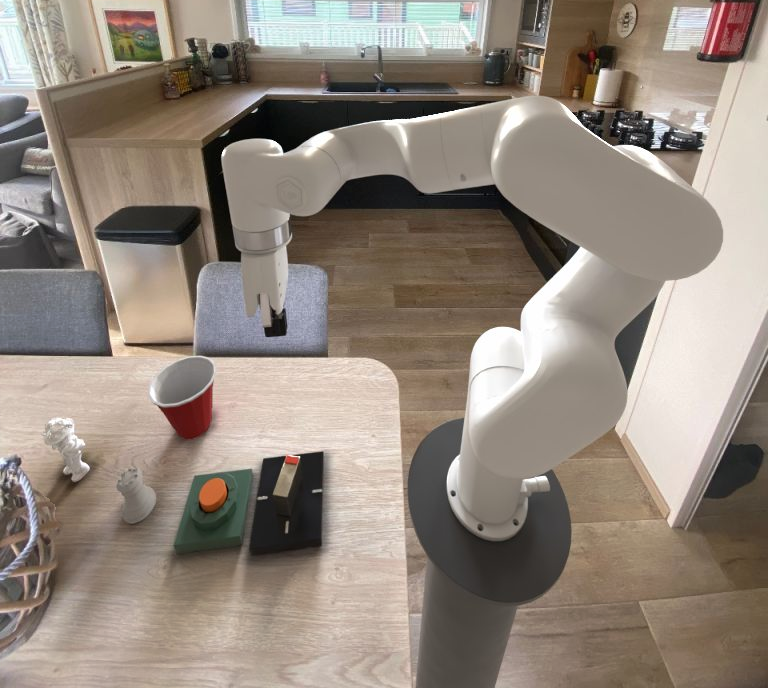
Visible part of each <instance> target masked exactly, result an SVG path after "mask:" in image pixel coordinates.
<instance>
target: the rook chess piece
mask: <svg viewBox="0 0 768 688" xmlns="http://www.w3.org/2000/svg"><path fill="white" fill-rule="evenodd" d="M120 475H121V476H119V477H118V478H117V481H116V485H115V486H116V491H118V492H119V493H120V494H121V496H122V497H124V501H123V505H122V509H121V512H122V516H123V517H122V518H123V520H124V521H125V522H126V523H127V524H136V523H139V522H141V521H143V520H144V519H146V518H147V517H148V516H149V515H150V514H151V512H152V511H153V510H154V508H155V505H156V503H157V495H156V492H155V491H154V489H153V488H152V487H151V486H147V485H145V484H144V483H143V482H144V479H143V471H142V469H141V468H140V467H136V466H134V467H133V466H128V467H127V470H126V471H125V470H123V471H122V472H121V473H120Z"/></svg>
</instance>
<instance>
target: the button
mask: <svg viewBox="0 0 768 688" xmlns="http://www.w3.org/2000/svg"><path fill="white" fill-rule="evenodd" d="M226 497H227V490H226V486H225V483H224V481H223V480H222V479H219V478H215V479H212V480H210V481H208V482H207V483H206V484H205V485H204V486H203V487H202V489H201V491H200V494H199V500H200V504H201V507H202V509H203V510H204V511H205V512H209V513H210V512H214V511H216V510H218V509H219V508H220V507H221V506H222V505H223V504H224V502H225V500H226Z"/></svg>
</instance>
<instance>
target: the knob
mask: <svg viewBox="0 0 768 688" xmlns="http://www.w3.org/2000/svg"><path fill="white" fill-rule="evenodd" d="M291 455H292V454H286V455H285V456H286V458H285V461H284V464H283V467H282V470H281V473H280V475H279V478H278V481H277V484H276V487H275V489H274V492H273V498H274V504H275V510H276V514H277V515H283V516H288V517H290V516H291V513H292V510H293V506H294V503H295V500H296V496H297V493H298V490H299V487H300V483H301V480H302V469H301V461H300V457H297V456H291Z"/></svg>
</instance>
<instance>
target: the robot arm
mask: <svg viewBox="0 0 768 688" xmlns="http://www.w3.org/2000/svg"><path fill="white" fill-rule="evenodd" d="M220 158H221V160H220V161H221V168H222V174H223V179H224V185H225V190H226V197H227V203H228V209H229V214H230V215H229V216H230V221H231V226H232V232H233V238H234V239H233V240H234V245H235V248H236V249H237V250H238V251H239V252H241V253H240V270H241V284H242V294H243V302H244V311H245V316H246V317H248V318H254V317H255V316H256V314H257V310H258V307H259V309H260V316H261V317H260V319H261V327H262V328H263V332H264V336H265V338H277V337H278V338H279V337H286V336H287V335H288V334H287V333H288V327H289V326H288V319H287V318H288V317H287V309H286V308H285V298H286V292H287V286H288V280H289V261H288V251H287V246H288V245H289V243H291V240H292V239H293V231H292V222H291V216H296V217H309V216H313V215H316V214H317V213H319V212H320V211H322V210H323V209H324V208H325V207H326V205H328V203H329V202H330V201H331V200H332V199H333V197H334V196H335V195H336V193H337V192H338V191H339V190H340V189H341V188H342V186H343V185H344V184H345V183H346V182H348V181H351V180H354V179H360V178H365V177H373V176H380V175H392V176H393V175H394V176H398V177H402V178H404V179H405V180H407V181H408V182H409V183H411V185H412V186H413V187H414V188H416V190H418V191H419V192H421V193H423V194H437V193H443V192H449V191H451V192H452V191H456V190H463V189H470V188H478V187H483V186H484V187H485V186H491V185H492V186H493V185H495V187H496V188H497V190H498V191H499V192H500V193H501V195H502V196H503V197H504V198H505V199H506V200H507V201H508V202H509V203H511V204H512V205H513V206H514V207H515V208H517V209H518V210H519V211H521V212H522V213H524V214H526V215H527V217H529V218H531V219H533V220H534V221H536V222H538V223H539V224H541V225H543V226H544V227H546V228H547V229H549V230H551V231H552V232H554V233H556V234H558V235H559V236H561V237H563V238H565V239H566V240H568V241H569V242H570V243H573V244H574V245H576V246H578V247H579V248H578V250H577V251H576V252H575V253H574V254H573V256H572V257H571V258H570V259H569V260H568V261H567V262H566V263H565V264H564V265H563V267H561V268H560V270H558V271H557V272H556V273H555V274H554V275H553V277H551V278H550V279H549V280H548V281H547V282H546V283H545V284H544V285H543V286H542V287H540V289H539V290H538V291H537V292H536V293H535V294H534V295H533V296H532V297H531V298H530V299H529V300H528V302H527V303H526V304H525V305H524V307H523V309H522V311H521V313H520V314H521V315H520V330H518V329H516V328H513V327H510V326H497V327H494V328H490V329H489V330H487V331H485V332H484V333H482V334H481V335H480V336H479V338H478V339H477V340H476V341H475V343H474V345H473V347H472V350H471V355H470V360H469V374H468V384H467V396H466V405H465V413H464V418H465V419H464V427H463V435H462V442H461V450H460V455H459V456H457V457H456V458H455V460H454V461H453V462H452V464H451V466H450V468H449V472H448V476H447V494H448V500H449V502H450V505H451V508H452V510H453V512H454V514H455V515H456V517H457V518H458V520H459V521H460V522H461V524H462V525H463V526H464V527H465V528H467V529H468V530H469V531H470V532H472V533H473V534H474V535H476V536H478V537H480V538H483V539H485V540H490V541H504V540H507V539H510V538H511V537H513V536H515V535H516V534H517V533H518V532H519V531H520V530H521V528H522V526H523V524H524V522H525V519H526V516H527V510H528V498H527V497H530V496H531V494H532V493H535V492H538V493H539V492H547V491H550V485H549V482H548V479H547V478H546V476H541V477H536V476H539V475H541V474H544V473H545V472H547V471H549V470H551V469H552V470H553V469H554V468H556V467H557V466H559V465H560V464H562V463H564V462H565V461H567V460H568V459H570V458H571V457H573V456H574V455H576V454H578V453H579V452H581V451H582V450H583V449H586V447H588V446H589V445H591V444H592V443H594V442H595V441H597V440H599V439H600V438H601V437H603V436H604V435H606V434H607V433H608V432H610V431H611V430H612V429H613V428H614V427H616V425H618V423H619V421H620V420H621V418H622V416H623V414H624V412H625V410H626V407H627V403H628V396H629V395H628V393H629V392H628V385H627V380H626V376H625V374H624V370H623V367H622V364H621V362H620V359H619V357H618V354H617V351H616V347H615V346H616V345H615V341H616V338H617V337H618V335H619V334H620V333H621V332H622V331H623V330H624V329H625V328H626V327H627V326H628V325H629V324H630V323H631V322H632V321H633V320H634V319H635V318H636V317H637V316H638V315H639V314H641V313H642V312H643V311H644V310H645V309H646V308H647V307H648V306H649V305H650V304H652V302H653V301H654V300H655V299H656V297H657V296H658V294H659V293H660V292H661V290H662V288H663V287H664V286H665V284H666V282H668V281H678V280H683V279H688V278H690V277H692V276H696V275H697V274H699V273H701V272H702V271H703V270H704V271H705V269H707V268H708V267H709V266H710V265H711V264H712V263H713V262H714V261H715V260H716V258H717V256H718V255H719V253H720V252H721V249H722V246H723V243H724V228H723V224H722V223H723V222H722V220H721V217H720V216H719V214H718V212H717V210H716V209H715V208H714V207H713V205H712V203H710V201H708V200H707V199H706V198H705V197H704V196H703V194H701V193H700V192H699V191H697V190H696V189H695V188H694V187H693V186H692V185H690V184H689V183H688V182H687V181H686V180H685V179H684V178H683V177H681V176H680V175H679V174H678V173H677V172H676V171H675V170H674V169H673V168H672V167H670V165H668V164H667V163H666V162H664V161H663V160H662V159H661V158H659V156H657V155H655V154H653V153H652V152H650V151H649V150H646V149H644V148H642V147H639V146H635V145H629V144H619V145H613V146H612V145H611V144H609V143H608V142H607V141H604V140H603V139H602V138H600V137H599V136H598V135H596V134H594V133H593V132H592V131H590V130H589V129H588V128H586V127H585V126H584V125H583V124H582V123H581V122H580V120H578V118H577V117H576V115H574V114H573V113H572V111H571V110H570V109H569V108H568V107H567V106H566V105H564V104H563V103H562V102H560V101H559V100H557V99H555V98H553V97H550V96H547V95H546V96H545V95H526V96H521V97H516V98H510V99H506V100H500V101H495V102H491V103H485V104H481V105H477V106H471V107H467V108H462V109H457V110H454V111H448V112H443V113H438V114H433V115H428V116H421V117H416V118H410V119H409V118H407V119H405V118H404V119H403V118H401V119H392V120H391V119H390V120H376V121H369V122H363V123H358V124H352V125H348V126H343V127H338V128H334V129H330V130H327V131H323V132H320V133H318V134H316V135H314V136H312V137H310V138H309V139H308V140H305V141H304V142H302V143H301V144H300V145H299V146H297V147H296V148H294V149H291V150H289V151H287V152H284V150H283V148H282V146H281V145H280V144H279V143H277V142H276V141H274V140H272V139H267V138H249V139H242V140H239V141H235V142H232V143H230V144H229V145H227V146H226V147H224V149H223V151H222V154H221V157H220ZM533 477H534V478H533ZM529 478H531V479H529ZM452 495H453V496H454V497H453V496H452ZM514 524H516V526H515V525H514ZM478 529H480V530H481V531H479V530H478Z"/></svg>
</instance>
